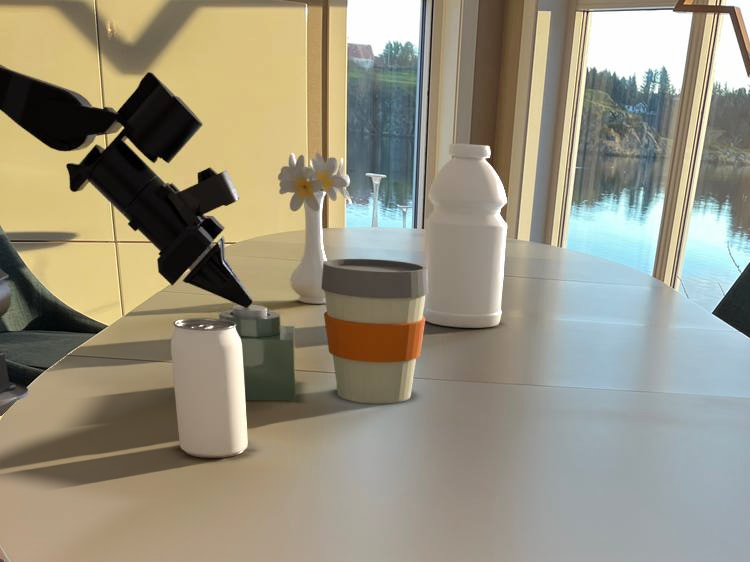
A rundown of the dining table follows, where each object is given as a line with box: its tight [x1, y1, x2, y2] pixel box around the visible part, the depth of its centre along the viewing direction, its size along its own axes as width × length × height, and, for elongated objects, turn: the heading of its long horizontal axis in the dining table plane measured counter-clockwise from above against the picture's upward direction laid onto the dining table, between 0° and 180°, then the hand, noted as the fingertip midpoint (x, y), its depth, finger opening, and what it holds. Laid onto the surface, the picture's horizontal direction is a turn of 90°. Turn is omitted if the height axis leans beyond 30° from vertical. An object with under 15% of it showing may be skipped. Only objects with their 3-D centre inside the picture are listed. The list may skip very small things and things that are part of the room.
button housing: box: [218, 309, 297, 402], centre depth 112 cm, size 10×9×9 cm
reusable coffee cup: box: [321, 258, 428, 405], centre depth 113 cm, size 13×13×15 cm
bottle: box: [422, 142, 508, 329], centre depth 161 cm, size 14×14×28 cm
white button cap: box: [231, 304, 268, 318], centre depth 110 cm, size 4×4×2 cm
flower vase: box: [277, 152, 352, 305], centre depth 172 cm, size 13×18×25 cm
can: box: [170, 317, 249, 459], centre depth 90 cm, size 6×6×12 cm
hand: (250, 304), depth 110 cm, fingers closed, pressing on white button cap
